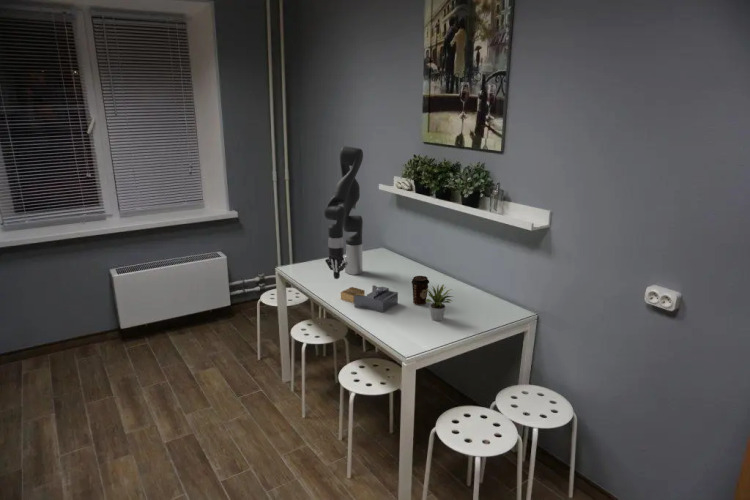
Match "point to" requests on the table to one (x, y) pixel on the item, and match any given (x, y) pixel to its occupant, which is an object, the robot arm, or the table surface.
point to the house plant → (438, 303)
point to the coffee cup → (420, 289)
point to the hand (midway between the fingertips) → (336, 278)
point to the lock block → (351, 294)
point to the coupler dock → (377, 299)
